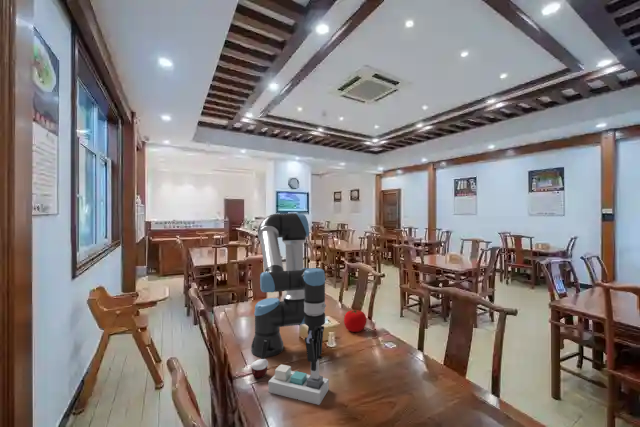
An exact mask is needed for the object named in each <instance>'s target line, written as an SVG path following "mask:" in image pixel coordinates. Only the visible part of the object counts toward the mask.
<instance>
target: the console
mask: <svg viewBox="0 0 640 427" xmlns="http://www.w3.org/2000/svg"><path fill="white" fill-rule="evenodd" d="M295 372H296V371H295V370H291V376H292V375H293V374H294V373H295ZM310 376H311V374H308V373H307V379H308V378H309V377H310ZM329 382H330V380H329V378H326V377H323V385H322V386H321V388H320V389H319V390H318V389H314V388H310V387H307V380H306V382H305V383H304V384H303V385H302V386H301V385H297V384H293V383H291V377H290V378H289V379H288V380H287V381H286V382H284V381H280V380H276V379H275V374H274V375H272V377H271V378H270V379H269V380H268V386H267V387H268V393H270V394H275V395H279V396H282V397H287V398H290V399H293V400H297V399H298V401H302V402H305V403H308V404H309V403H310V404H314V405H318V406H320V405H321V403H322V402H323V400H324V398H325V397H326V394H327V393H328V391H329V386H330V385H329V384H330V383H329Z"/></svg>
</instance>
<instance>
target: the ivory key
mask: <svg viewBox="0 0 640 427" xmlns="http://www.w3.org/2000/svg"><path fill="white" fill-rule="evenodd" d="M291 371H292V366H290V365H286V364H280V365H278V366H277V367H276V369H274V375H275V379H276V380H280V381H284V382H286V381H287V380H288V379H289V378H290V377H291Z"/></svg>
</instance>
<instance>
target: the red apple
mask: <svg viewBox="0 0 640 427" xmlns="http://www.w3.org/2000/svg"><path fill="white" fill-rule="evenodd" d="M343 324H344V326H345V328H346V329H347V330H348V331H349V332H352V333H359V332H362V331H363V330H364V328H365V327H366V325H367V316H366V313H365V312H364V311H362V310H357V309H352V310H348V311H347V312H346V313H345V315H344V318H343Z"/></svg>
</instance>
